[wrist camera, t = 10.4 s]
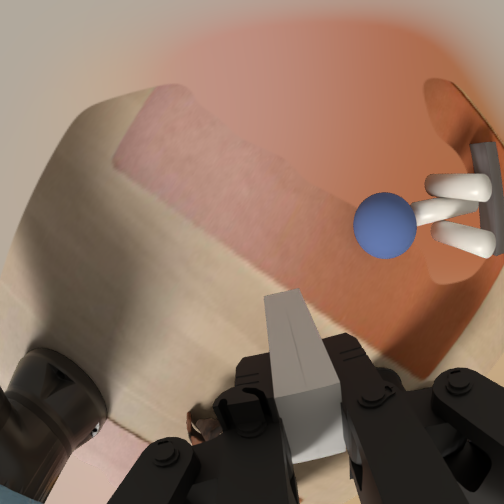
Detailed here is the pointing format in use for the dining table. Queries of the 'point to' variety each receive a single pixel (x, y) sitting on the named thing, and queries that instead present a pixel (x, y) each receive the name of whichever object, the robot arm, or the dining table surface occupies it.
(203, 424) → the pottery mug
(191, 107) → the dining table surface
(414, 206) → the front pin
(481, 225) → the back wall
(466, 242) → the pin
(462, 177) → the pin
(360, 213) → the ball
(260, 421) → the robot arm
